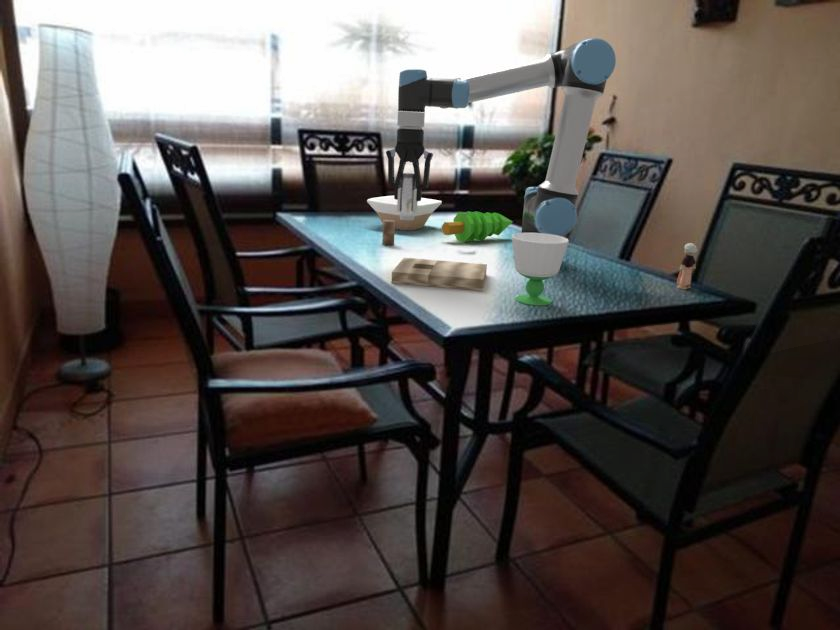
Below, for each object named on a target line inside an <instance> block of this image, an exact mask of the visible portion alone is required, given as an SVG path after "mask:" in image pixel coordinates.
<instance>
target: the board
mask: <svg viewBox="0 0 840 630" xmlns="http://www.w3.org/2000/svg"><path fill="white" fill-rule="evenodd" d="M487 266H488V264H485V263H475V262H464V261H463V262H462V261H461V262H460V261H450V260H449V261H448V260H439V259H438V260H436V259H425V258H412V257H402V259H401V260H400V261H399V262H398V264H397V265H396V266H395V267H394V268H393V269H392V271H391V281H390V282H391V283H392V284H399V285H400V284H401V285H402V284H403V285H410V286H411V285H413V286H424V287H434V288H435V287H436V288H444V289H445V288H447V289H456V290H457V289H458V290H467V291H468V290H470V291H479V292H480V291H482V292H483V290H484V284H485V281H486V278H487V277H486V276H487V270H488V269H487V268H488V267H487Z"/></svg>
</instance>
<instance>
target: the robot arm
mask: <svg viewBox="0 0 840 630" xmlns="http://www.w3.org/2000/svg"><path fill="white" fill-rule="evenodd" d="M616 59H617V57H616V53H615V49H614V48H613V47H612V45H610V43H609V42H608V41H607V40H605V39H602V38H599V37H587V38H583V39H581V40H580V41H579V42H576V43H573V44H571V45H570V46H567V47H565V48H563V49H561V50H558V51H555V52H550V53H547V54H546V55H545V56H544V58H541V59H540V58H539V59H536V60H532V61H527V62H524V63H519V64H515V65H510V66H506V67H501V68H497V69H492V70H487V71H483V72H479V73H476V74H475V73H474V74H470V75H466V76H462V77H461V76H460V77H457V78H434V77H433V78H432V77H428V74H427V70H425V69H421V68H420V69H417V68H403V69H401V70H400V71H399V80H398V94H397V97H398V98H397V99H398V100H397V101H398V103H397V107H398V108H397V126H398V128H397V130H396V145H395V146H394V148H392V149H389V150H386V152H385V154H386V156H387V167H388V168H387V172H388V173H387V182H388V183H387V184H388V186H390V187H393V189H394V191H393V196H394V198H395V199H396V200H398V202H397V212H400V206H401V180H402V173H405V172H404V171H405V167H406V164H407V163H408V162H409V163H412V168H413V174H414V175H415V190H414V199H413V213H416V212H417V206H418V201H421V198H422V193H423V192H422V190H423V189H427V188H428V187H429V183H430V182H429V181H430V172H431V161H432V159H433V156H434V153H433V152H429V151H428V150H426V149H425V146H424V141H425V140H424V137H425V133H424V132H425V131H424V129H423V128H424V127H425V116H426V115H425V113H426V112H425V111H426V107H428V108H429V107H430V108H433V107H434V108H440V109H445V110H446V109H455V110H457V109H466V108H467V107H468V105H469V103H474V102H479V101H484V100H488V99H492V98H497V97H501V96H506V95H511V94H516V93H520V92H524V91H529V90H534V89H538V88H543V87H544V88H545V87H549V88H550V89H555V88H560V87H561V90H562V92H563V93H564V98H563V102H562V106H561V112H560V116H559V120H558V124H557V128H556V134H555V138H554V141H553V147H552V149H551V155H550V158H549V164H548V168H547V171H546V172H547V173H546V177H545V180H544V181H543V182H542V183H541V184H539V185H538V186H529V187H527V188H526V189H525V194H524V196H523V198H524V200H523V201H524V202H523V212H522V223H521V232H520V233H545V234H552V235H557V236H562V237H564V236H565V235H567V234H568V233H570V232H571V231H572V230H573V228H574V227H575V225H576V223H577V220H578V214H577V213H578V212H577V207H576V205H577V202H578V196H579V191H578V190H577V188H576V183H577V179H578V174H579V171H580V166H581V161H582V158H583V155H584V151H585V146H586V141H587V140H588V139H587V138H588V135H589V131H590V130H589V129H590V126H591V121H592V117H593V114H594V111H595V110H594V109H595V105H596V101H597V100H598V99H600V98H601V97H602V96H604V91H605V89H606V84H607V81H608V80H609V78H610V77H611V76H612V74H613V73H614V70H615V67H616V64H617V63H616V62H617V61H616ZM396 154H397V156H398V157H399V161H398V168H397V173H396V176H395V157H396ZM422 156H423V158H424V159H425V160H424V168H423V180H422V177H421V171H420V162H419V161H420V158H422ZM513 259H514V256H513Z"/></svg>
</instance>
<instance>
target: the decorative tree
mask: <svg viewBox="0 0 840 630" xmlns="http://www.w3.org/2000/svg"><path fill="white" fill-rule="evenodd" d="M513 222H514V221H512V220H511V219H510V218H507V217H505V216H504V215H502V214H500V213H498V212H492V213H491V212H487V211H486V212H485V213H483V212H480V211H474V212H473V211H469V210H468V211H467V212H461V211H458V212H457V213H456V215H455V217H453V221H447V222H446V221H444V222H443V224H441V231H442V233H443V235H444V236H451V235H454V236H455V239H456V241H458V242H462V243H465V242H467V241H470V242H474V241H475V240H476V241H479V242H483V241H484V240H485V239H486V238H487V237H492V236H493V235H495V236H500V235H501V234H502V233H503V232H504V231H505V230H506V229H507V228H508V227H509V226H510V225H511V224H512V223H513Z"/></svg>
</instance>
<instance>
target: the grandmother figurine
mask: <svg viewBox="0 0 840 630" xmlns="http://www.w3.org/2000/svg"><path fill="white" fill-rule="evenodd" d="M683 248H684V251H683V252H684V255H685V256H684V257H683V259H682V261H681V264H680V267H679V270H678V271H679V273H678V277H677V280H676V284H677V286H676V289H681V290H688V289H691V288H692V287H691V283H692V270H695V269H696V268H697V267H696V266H697V265H696V260H695V257H694V255H695V253H696V252H698V248H697V246H696V245H695V244H694V243H692V242H689V243H686V244H685V245H684V247H683Z"/></svg>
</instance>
